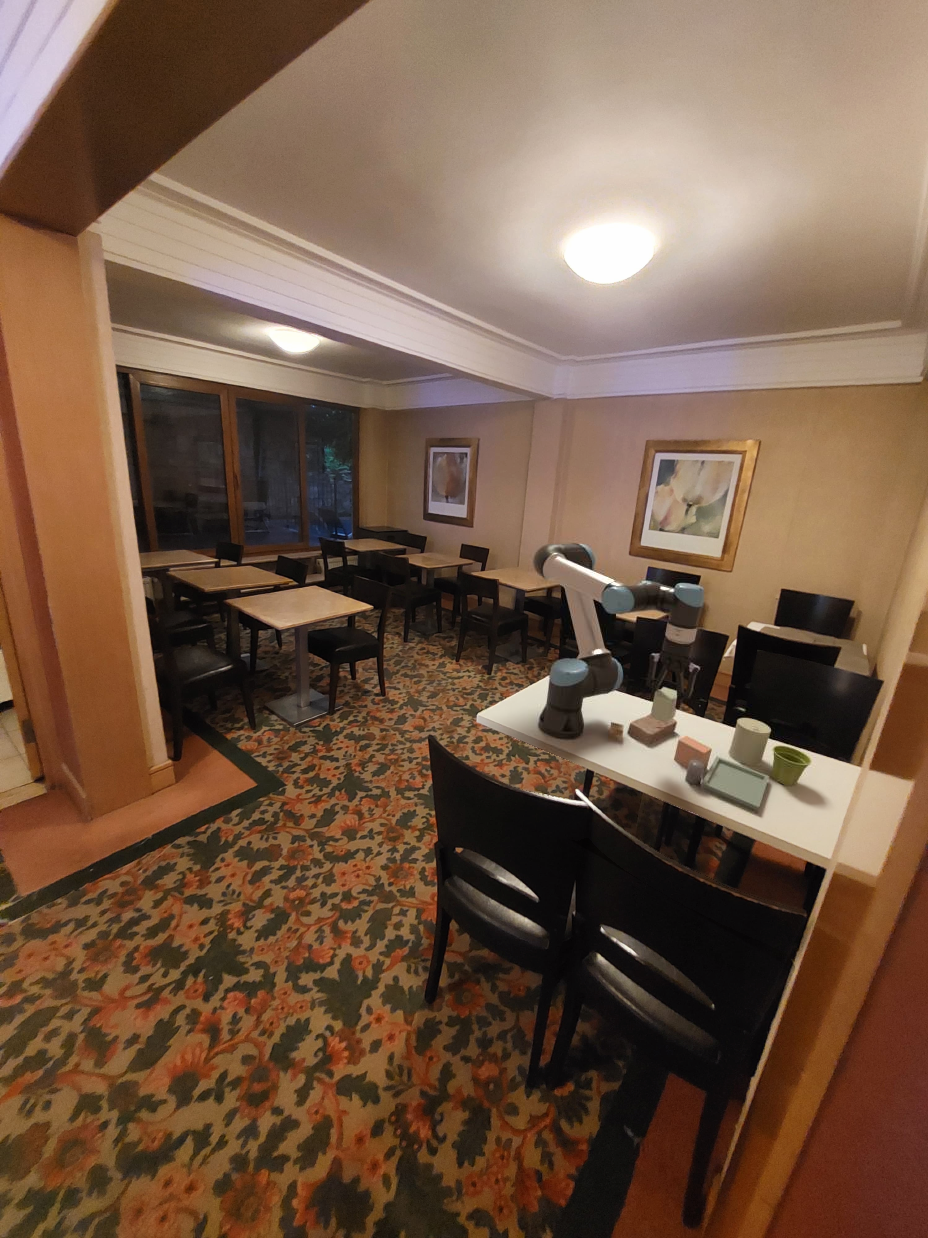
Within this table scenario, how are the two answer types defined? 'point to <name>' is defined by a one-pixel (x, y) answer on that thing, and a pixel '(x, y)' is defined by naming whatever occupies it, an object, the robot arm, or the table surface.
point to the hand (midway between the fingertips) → (662, 713)
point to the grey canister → (694, 772)
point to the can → (749, 741)
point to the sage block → (663, 704)
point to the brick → (650, 729)
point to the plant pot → (788, 764)
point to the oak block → (616, 731)
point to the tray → (735, 783)
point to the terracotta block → (692, 751)
